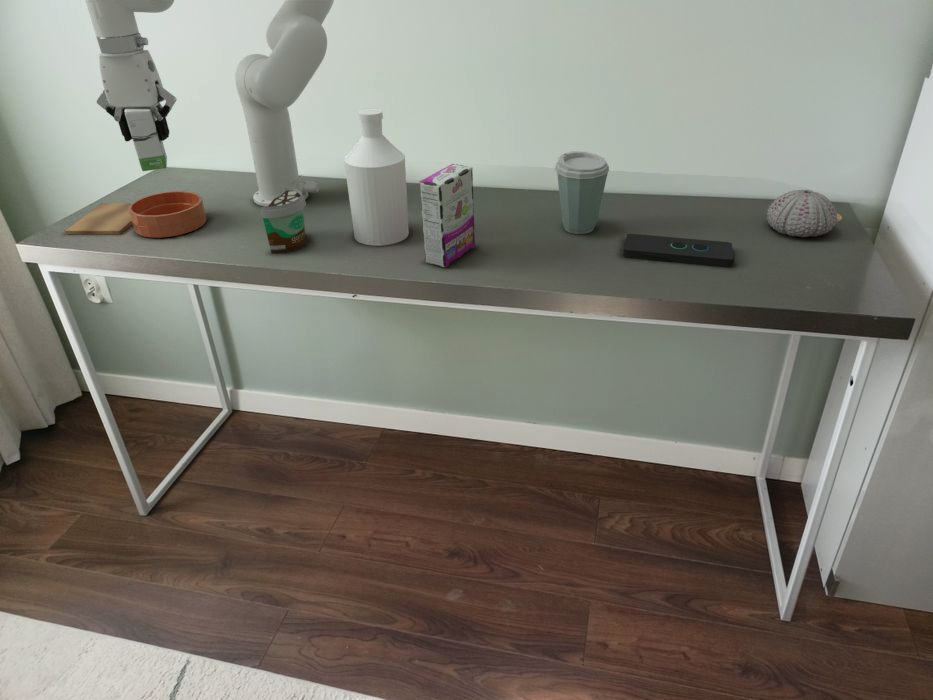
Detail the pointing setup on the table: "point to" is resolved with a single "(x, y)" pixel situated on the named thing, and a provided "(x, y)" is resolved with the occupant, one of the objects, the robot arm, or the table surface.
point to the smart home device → (678, 250)
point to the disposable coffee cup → (581, 189)
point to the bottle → (376, 185)
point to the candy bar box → (447, 214)
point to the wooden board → (103, 220)
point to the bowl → (167, 214)
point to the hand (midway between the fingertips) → (147, 138)
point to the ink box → (146, 138)
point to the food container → (285, 221)
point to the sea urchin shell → (802, 214)
